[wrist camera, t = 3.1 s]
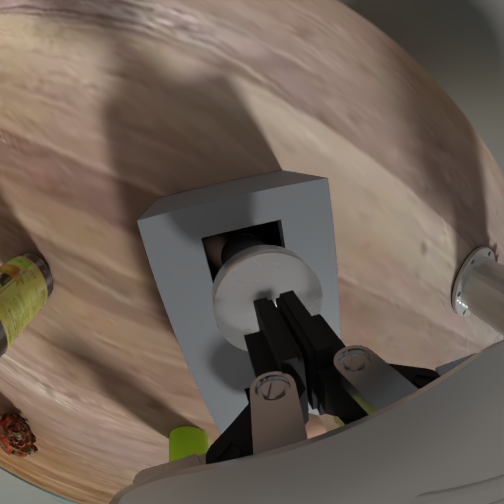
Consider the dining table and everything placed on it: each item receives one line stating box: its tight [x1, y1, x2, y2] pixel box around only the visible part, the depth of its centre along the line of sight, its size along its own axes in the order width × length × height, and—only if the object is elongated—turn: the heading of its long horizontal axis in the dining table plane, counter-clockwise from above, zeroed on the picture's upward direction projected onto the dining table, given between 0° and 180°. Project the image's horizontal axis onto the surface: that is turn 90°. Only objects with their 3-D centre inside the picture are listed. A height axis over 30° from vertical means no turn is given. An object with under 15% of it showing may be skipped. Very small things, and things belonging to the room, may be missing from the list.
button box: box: [137, 171, 340, 434], centre depth 25 cm, size 12×22×10 cm, turn 11°
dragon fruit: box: [0, 413, 38, 457], centre depth 27 cm, size 8×8×12 cm
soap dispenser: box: [169, 426, 209, 462], centre depth 27 cm, size 6×7×20 cm
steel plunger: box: [212, 234, 322, 351], centre depth 17 cm, size 5×5×8 cm
